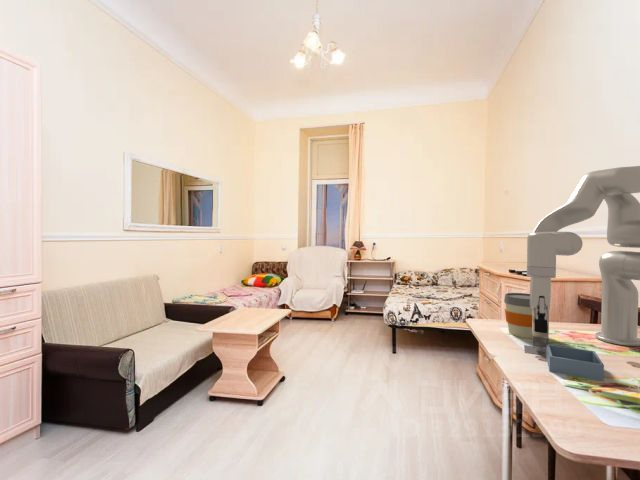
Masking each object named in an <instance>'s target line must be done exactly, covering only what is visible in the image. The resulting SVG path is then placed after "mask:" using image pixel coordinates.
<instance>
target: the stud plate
mask: <svg viewBox="0 0 640 480" xmlns="http://www.w3.org/2000/svg"><path fill="white" fill-rule="evenodd" d="M523 348H524V354H529V355H536V356H542V357H546V348H544V347H537V346H533V345H526V344H524V345H523Z"/></svg>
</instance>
